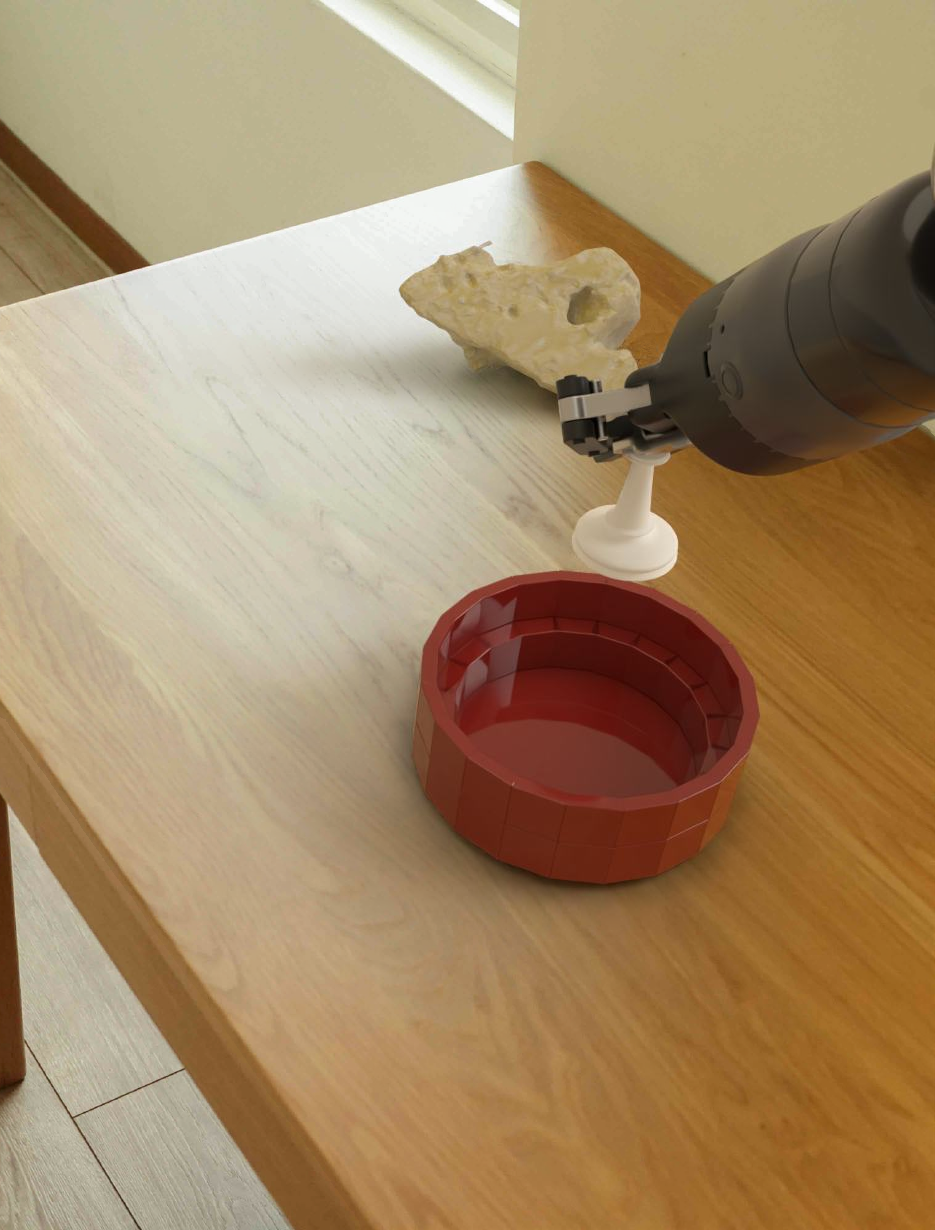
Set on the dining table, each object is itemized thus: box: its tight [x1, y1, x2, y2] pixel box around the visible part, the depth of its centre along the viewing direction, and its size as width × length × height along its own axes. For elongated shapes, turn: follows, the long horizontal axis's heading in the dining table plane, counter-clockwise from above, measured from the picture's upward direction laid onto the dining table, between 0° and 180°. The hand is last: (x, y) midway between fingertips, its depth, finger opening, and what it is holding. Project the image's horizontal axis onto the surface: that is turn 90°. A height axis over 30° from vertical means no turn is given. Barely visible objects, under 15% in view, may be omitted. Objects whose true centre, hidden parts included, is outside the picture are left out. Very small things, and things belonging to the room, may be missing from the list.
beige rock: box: [398, 240, 642, 395], centre depth 105 cm, size 15×7×15 cm
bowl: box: [411, 569, 761, 884], centre depth 78 cm, size 17×17×6 cm
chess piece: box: [571, 451, 679, 582], centre depth 68 cm, size 5×5×10 cm
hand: (626, 436), depth 70 cm, fingers closed on chess piece
